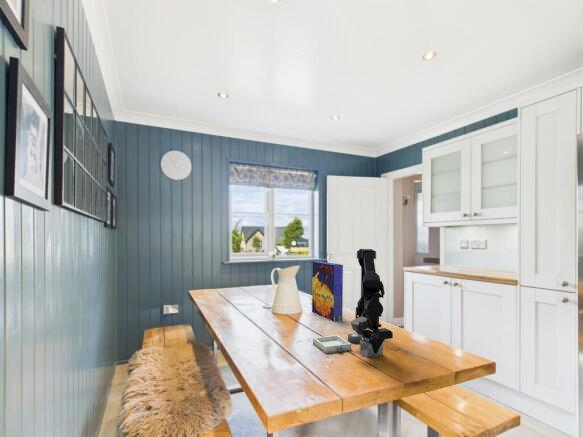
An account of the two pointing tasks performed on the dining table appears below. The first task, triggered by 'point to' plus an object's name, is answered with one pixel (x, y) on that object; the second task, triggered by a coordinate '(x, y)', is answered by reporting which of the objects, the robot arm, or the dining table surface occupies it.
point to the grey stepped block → (369, 348)
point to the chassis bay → (331, 344)
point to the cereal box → (327, 290)
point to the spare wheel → (354, 338)
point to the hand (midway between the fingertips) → (371, 350)
